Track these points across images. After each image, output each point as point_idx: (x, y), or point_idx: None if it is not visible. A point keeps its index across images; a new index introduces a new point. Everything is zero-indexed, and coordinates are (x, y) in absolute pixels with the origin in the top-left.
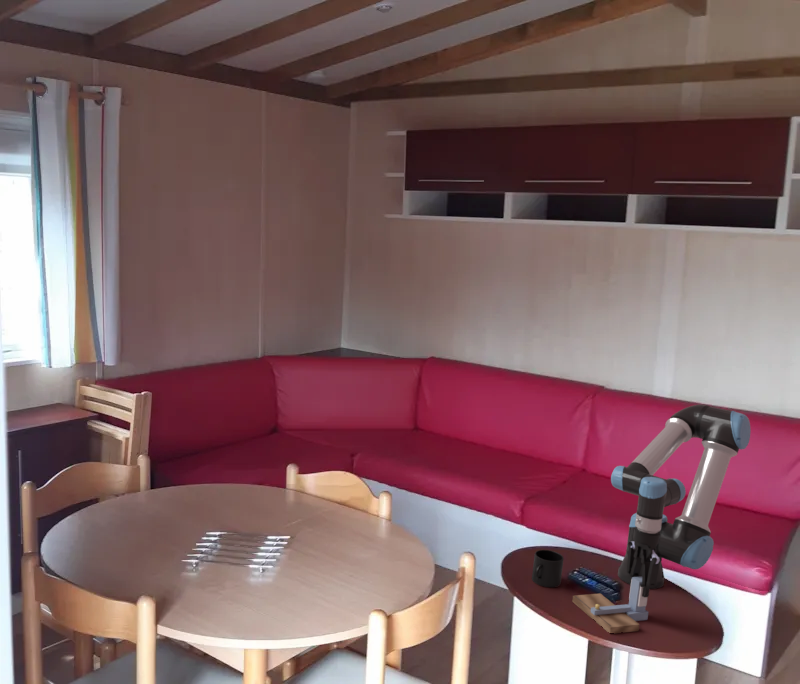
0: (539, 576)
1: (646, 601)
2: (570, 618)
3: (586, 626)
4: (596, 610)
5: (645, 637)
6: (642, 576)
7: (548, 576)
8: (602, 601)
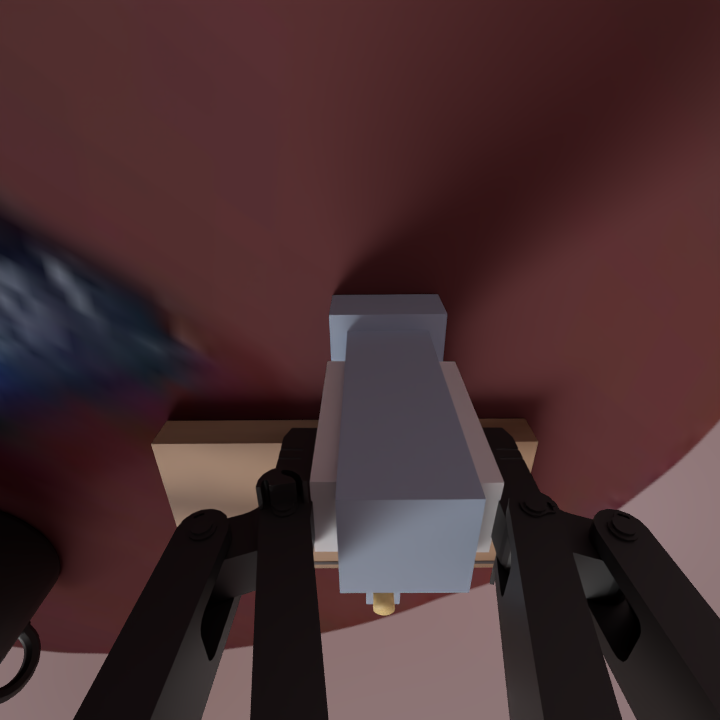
0: (20, 636)
1: (461, 383)
2: (345, 600)
3: None
4: (398, 597)
5: (589, 422)
6: (507, 661)
7: (24, 625)
8: (255, 481)
